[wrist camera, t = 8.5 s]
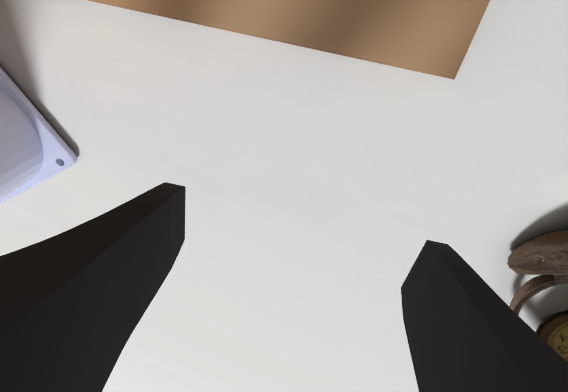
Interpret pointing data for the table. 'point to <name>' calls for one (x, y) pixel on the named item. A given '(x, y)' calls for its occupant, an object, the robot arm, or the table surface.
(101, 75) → the table surface
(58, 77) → the table surface
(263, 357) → the table surface
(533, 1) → the table surface
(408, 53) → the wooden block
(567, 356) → the brown rounded piece
